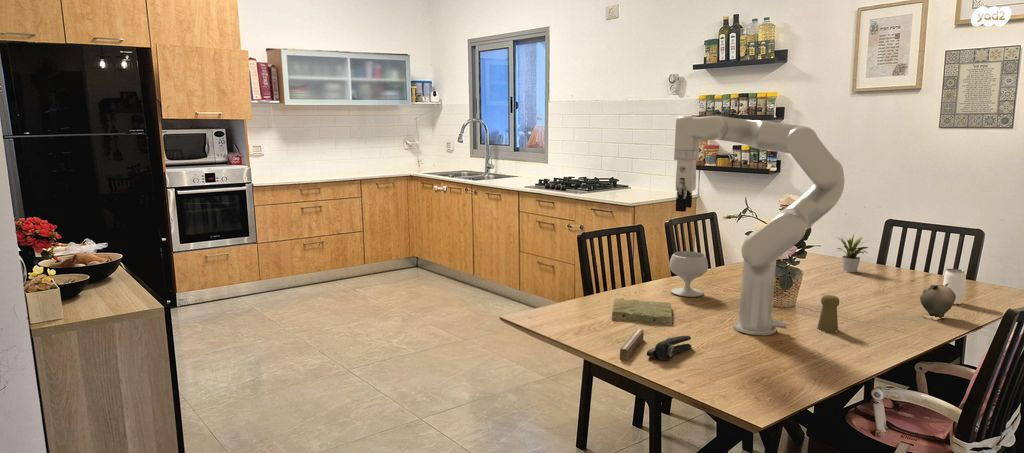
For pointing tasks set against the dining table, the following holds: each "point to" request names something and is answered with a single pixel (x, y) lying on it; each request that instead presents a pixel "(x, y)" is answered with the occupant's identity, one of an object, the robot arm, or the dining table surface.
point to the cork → (828, 314)
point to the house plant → (851, 255)
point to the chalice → (688, 270)
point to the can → (955, 282)
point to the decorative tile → (642, 311)
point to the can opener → (669, 347)
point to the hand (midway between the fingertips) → (683, 209)
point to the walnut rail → (631, 344)
